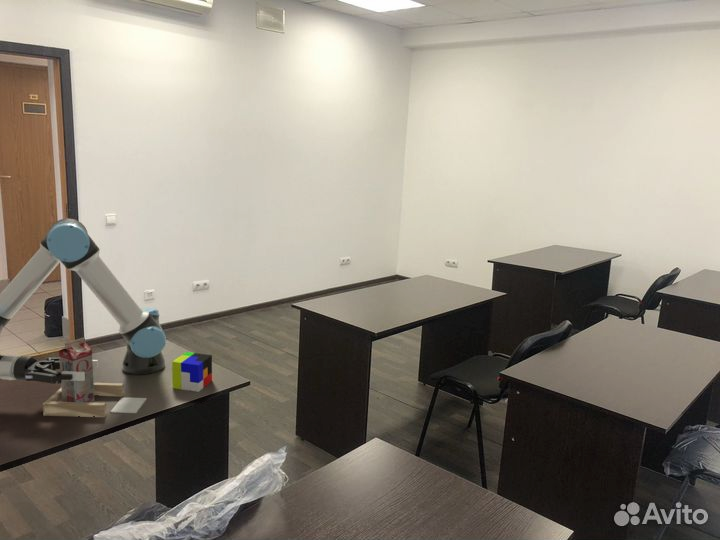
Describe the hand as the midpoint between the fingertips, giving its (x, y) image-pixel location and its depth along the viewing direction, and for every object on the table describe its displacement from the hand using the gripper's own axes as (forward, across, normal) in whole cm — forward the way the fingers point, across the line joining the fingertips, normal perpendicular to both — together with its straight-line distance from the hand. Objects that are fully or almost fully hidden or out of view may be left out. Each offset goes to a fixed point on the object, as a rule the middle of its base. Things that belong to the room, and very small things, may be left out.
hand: (91, 370), depth 173 cm
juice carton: (-5, 0, -12) cm, 13 cm away
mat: (+11, 0, -12) cm, 17 cm away
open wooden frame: (-2, 0, -12) cm, 12 cm away
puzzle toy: (+27, -18, -12) cm, 35 cm away
